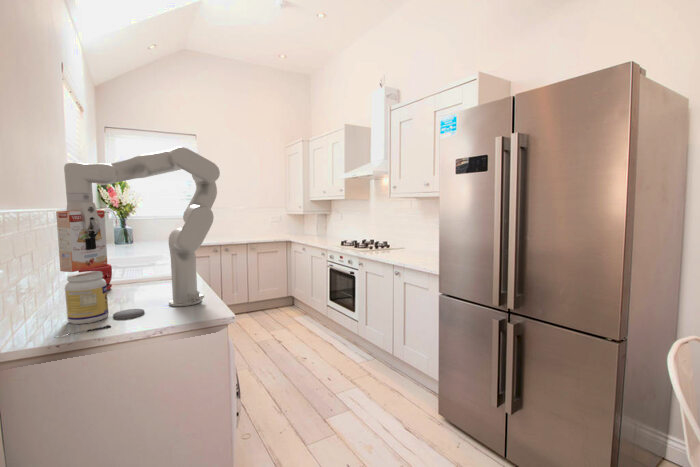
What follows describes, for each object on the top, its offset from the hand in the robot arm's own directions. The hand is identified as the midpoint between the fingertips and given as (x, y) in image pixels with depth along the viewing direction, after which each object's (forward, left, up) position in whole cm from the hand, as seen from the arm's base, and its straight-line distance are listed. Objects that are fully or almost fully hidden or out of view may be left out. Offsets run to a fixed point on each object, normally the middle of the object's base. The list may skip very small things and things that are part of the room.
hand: (84, 248), depth 130 cm
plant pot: (+39, -33, -26) cm, 57 cm away
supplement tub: (0, 0, -26) cm, 26 cm away
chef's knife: (-9, +11, -27) cm, 30 cm away
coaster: (-10, -8, -26) cm, 29 cm away
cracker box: (0, 0, -7) cm, 7 cm away
